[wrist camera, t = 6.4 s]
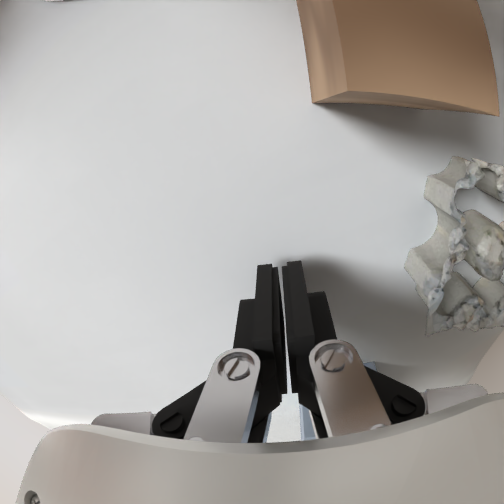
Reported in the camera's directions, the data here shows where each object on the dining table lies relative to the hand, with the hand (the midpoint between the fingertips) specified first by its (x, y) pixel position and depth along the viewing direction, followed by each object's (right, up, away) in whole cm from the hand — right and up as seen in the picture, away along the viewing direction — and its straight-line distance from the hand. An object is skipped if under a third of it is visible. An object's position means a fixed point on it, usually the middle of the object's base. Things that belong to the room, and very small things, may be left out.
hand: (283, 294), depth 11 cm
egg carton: (+11, +3, 0) cm, 11 cm away
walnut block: (+3, +9, -4) cm, 10 cm away
